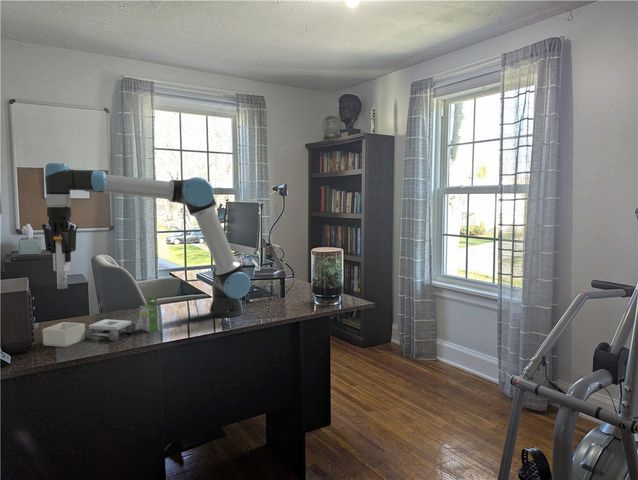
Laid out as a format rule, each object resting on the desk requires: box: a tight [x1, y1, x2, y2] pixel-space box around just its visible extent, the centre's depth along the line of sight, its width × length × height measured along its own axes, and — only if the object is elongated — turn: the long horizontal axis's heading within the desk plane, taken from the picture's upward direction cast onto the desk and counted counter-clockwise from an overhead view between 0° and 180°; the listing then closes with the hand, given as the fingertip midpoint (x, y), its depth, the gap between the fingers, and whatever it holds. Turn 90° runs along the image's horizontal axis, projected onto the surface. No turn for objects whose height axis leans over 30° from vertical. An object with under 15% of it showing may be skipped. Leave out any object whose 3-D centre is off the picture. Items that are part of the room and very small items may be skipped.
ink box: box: [139, 295, 159, 333], centre depth 178 cm, size 7×4×13 cm, turn 50°
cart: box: [85, 318, 136, 342], centre depth 171 cm, size 12×14×5 cm
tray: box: [42, 321, 87, 348], centre depth 163 cm, size 10×10×6 cm
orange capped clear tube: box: [53, 235, 68, 290], centre depth 160 cm, size 4×4×19 cm
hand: (61, 270), depth 161 cm, fingers closed on orange capped clear tube, 3 cm apart
